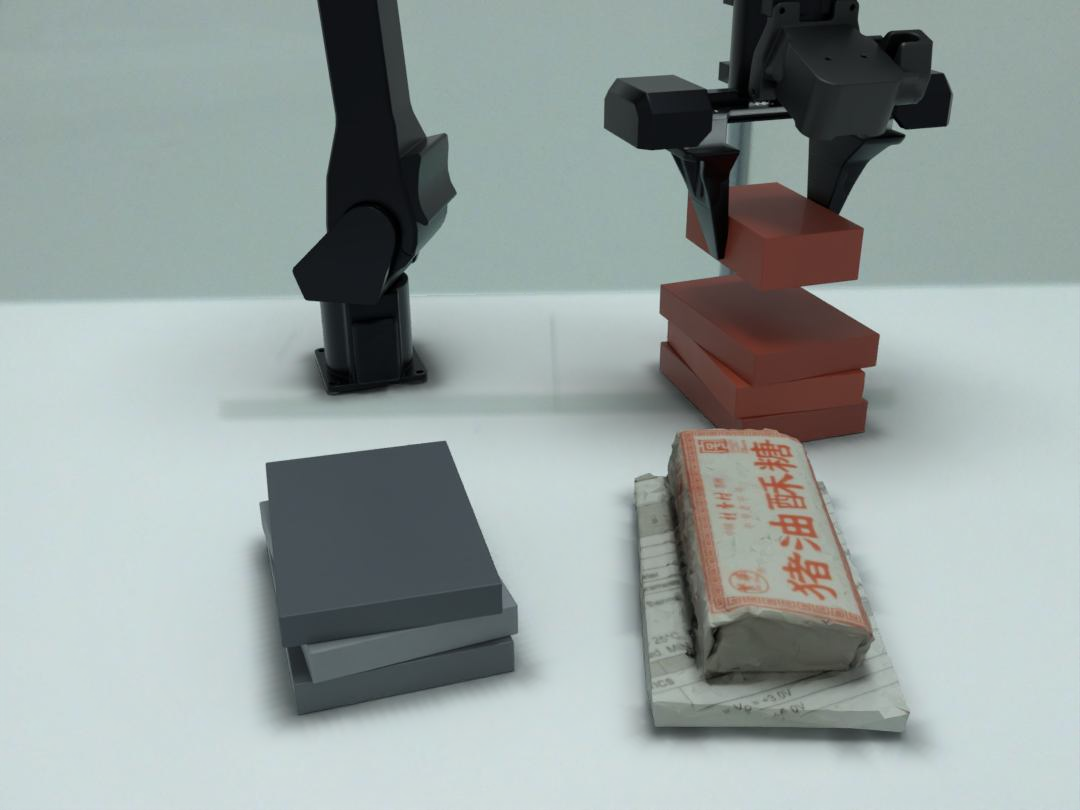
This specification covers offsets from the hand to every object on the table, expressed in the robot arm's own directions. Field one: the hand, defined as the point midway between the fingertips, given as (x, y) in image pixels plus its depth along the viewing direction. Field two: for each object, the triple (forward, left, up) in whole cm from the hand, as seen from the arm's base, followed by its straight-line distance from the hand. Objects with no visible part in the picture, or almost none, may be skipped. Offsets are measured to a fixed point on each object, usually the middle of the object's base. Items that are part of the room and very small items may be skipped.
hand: (766, 252), depth 67 cm
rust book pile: (0, 0, -10) cm, 10 cm away
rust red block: (0, 0, 0) cm, 0 cm away
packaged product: (+19, -10, -10) cm, 24 cm away
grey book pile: (+14, -26, -10) cm, 31 cm away
